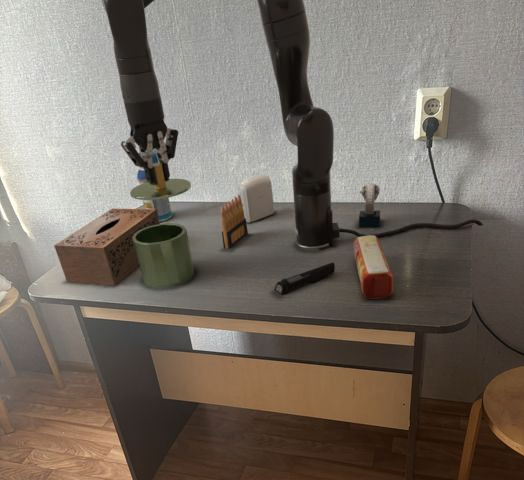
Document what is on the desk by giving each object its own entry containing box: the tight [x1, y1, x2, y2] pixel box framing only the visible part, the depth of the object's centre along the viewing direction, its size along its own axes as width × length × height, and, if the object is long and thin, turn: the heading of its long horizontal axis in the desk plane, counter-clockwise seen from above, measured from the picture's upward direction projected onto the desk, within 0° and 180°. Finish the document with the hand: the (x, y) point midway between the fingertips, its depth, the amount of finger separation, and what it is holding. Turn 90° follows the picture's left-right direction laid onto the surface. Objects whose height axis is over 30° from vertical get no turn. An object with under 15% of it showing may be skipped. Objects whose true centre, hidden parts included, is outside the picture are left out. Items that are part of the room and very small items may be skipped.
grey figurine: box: [358, 182, 381, 229], centre depth 139 cm, size 6×8×11 cm
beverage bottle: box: [136, 151, 173, 223], centre depth 158 cm, size 8×8×20 cm
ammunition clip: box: [220, 193, 249, 250], centre depth 137 cm, size 11×2×12 cm, turn 153°
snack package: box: [352, 234, 394, 300], centre depth 114 cm, size 21×7×7 cm, turn 177°
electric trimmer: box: [274, 262, 336, 296], centre depth 116 cm, size 4×16×3 cm, turn 121°
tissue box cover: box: [53, 207, 161, 287], centre depth 135 cm, size 26×14×10 cm, turn 161°
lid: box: [129, 163, 192, 201], centre depth 113 cm, size 14×14×6 cm
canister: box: [132, 222, 195, 288], centre depth 124 cm, size 13×13×12 cm
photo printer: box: [238, 174, 275, 223], centre depth 152 cm, size 10×4×12 cm, turn 127°
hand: (159, 182), depth 114 cm, fingers closed on lid, 2 cm apart
